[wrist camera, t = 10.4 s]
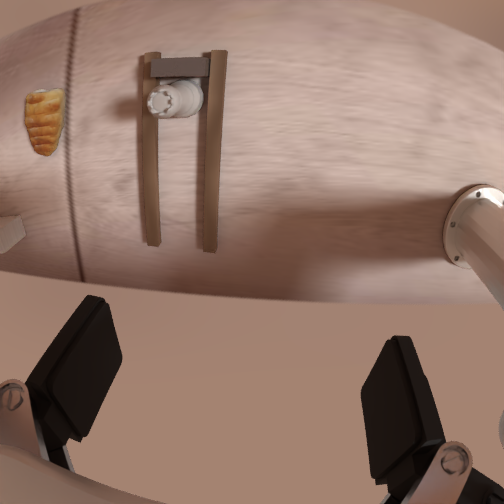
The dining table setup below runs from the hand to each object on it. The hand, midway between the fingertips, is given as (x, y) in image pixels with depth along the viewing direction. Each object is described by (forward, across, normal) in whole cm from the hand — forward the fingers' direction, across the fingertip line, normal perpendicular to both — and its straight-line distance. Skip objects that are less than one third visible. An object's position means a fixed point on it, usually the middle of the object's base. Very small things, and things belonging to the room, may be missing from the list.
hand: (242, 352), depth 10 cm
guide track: (+28, +10, 0) cm, 29 cm away
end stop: (+28, +10, -10) cm, 31 cm away
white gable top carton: (+27, +42, +12) cm, 52 cm away
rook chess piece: (+28, +10, -6) cm, 30 cm away
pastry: (+28, +30, -5) cm, 41 cm away
